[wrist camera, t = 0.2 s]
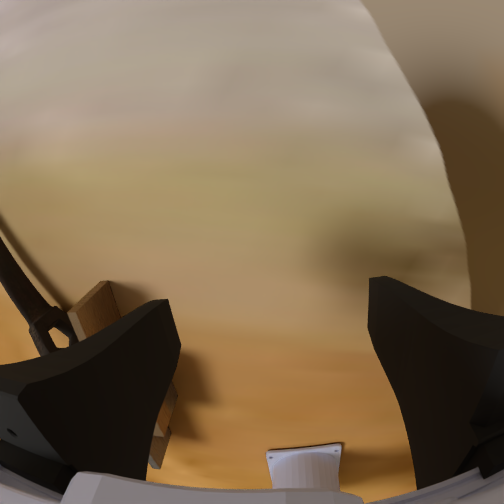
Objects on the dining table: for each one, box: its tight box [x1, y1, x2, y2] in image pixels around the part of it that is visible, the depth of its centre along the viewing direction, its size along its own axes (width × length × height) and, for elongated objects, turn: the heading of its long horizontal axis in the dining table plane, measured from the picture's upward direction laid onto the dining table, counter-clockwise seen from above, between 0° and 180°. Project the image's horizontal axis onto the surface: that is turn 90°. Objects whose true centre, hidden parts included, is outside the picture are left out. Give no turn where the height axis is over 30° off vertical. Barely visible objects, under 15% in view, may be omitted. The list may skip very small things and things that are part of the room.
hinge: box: [67, 281, 178, 469], centre depth 23 cm, size 18×6×5 cm, turn 8°
